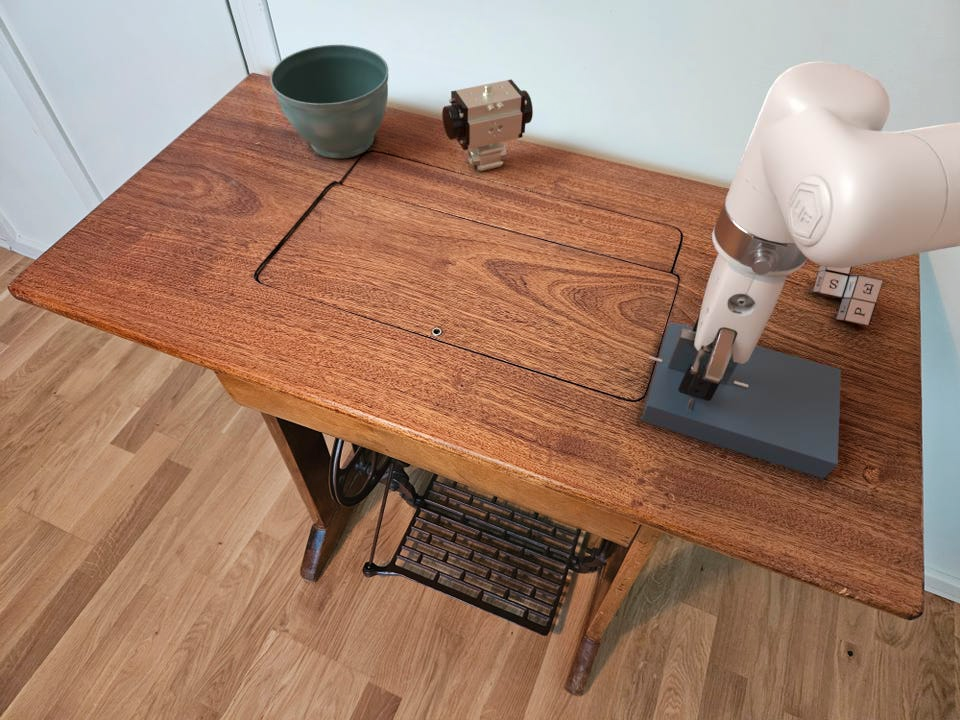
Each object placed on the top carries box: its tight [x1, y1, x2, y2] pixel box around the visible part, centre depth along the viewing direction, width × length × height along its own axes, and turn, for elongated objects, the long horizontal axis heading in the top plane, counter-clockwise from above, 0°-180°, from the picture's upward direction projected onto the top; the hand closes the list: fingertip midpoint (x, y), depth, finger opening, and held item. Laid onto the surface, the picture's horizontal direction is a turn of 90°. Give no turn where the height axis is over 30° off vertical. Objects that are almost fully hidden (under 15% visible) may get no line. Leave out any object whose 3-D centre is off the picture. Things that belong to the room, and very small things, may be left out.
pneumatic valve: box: [441, 79, 534, 172], centre depth 86 cm, size 6×12×12 cm, turn 112°
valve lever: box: [668, 329, 738, 385], centre depth 62 cm, size 6×1×5 cm, turn 69°
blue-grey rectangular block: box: [640, 321, 842, 480], centre depth 64 cm, size 19×12×3 cm, turn 69°
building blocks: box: [811, 265, 885, 327], centre depth 72 cm, size 5×5×8 cm
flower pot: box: [269, 44, 389, 159], centre depth 90 cm, size 16×16×11 cm
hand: (700, 365), depth 63 cm, fingers open, 7 cm apart
